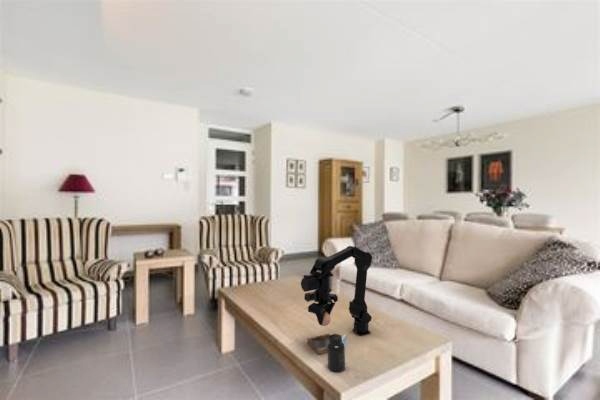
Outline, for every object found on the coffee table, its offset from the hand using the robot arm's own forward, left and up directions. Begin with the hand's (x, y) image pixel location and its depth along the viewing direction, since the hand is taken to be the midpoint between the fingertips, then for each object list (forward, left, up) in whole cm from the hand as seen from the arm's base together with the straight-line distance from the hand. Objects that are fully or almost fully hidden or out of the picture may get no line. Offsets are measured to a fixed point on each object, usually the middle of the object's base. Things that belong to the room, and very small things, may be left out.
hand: (323, 321), depth 125 cm
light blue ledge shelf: (-4, +6, -11) cm, 13 cm away
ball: (0, 0, -2) cm, 2 cm away
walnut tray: (0, 0, -11) cm, 11 cm away
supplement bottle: (+3, +16, -11) cm, 20 cm away
